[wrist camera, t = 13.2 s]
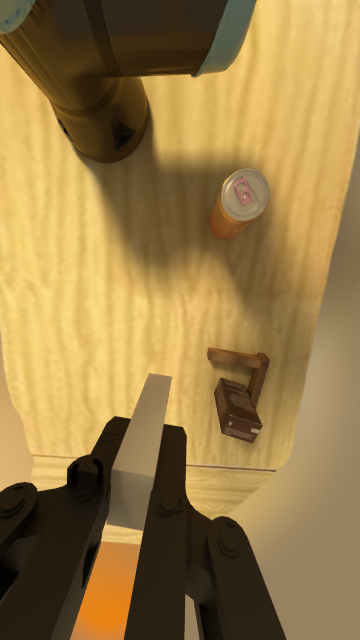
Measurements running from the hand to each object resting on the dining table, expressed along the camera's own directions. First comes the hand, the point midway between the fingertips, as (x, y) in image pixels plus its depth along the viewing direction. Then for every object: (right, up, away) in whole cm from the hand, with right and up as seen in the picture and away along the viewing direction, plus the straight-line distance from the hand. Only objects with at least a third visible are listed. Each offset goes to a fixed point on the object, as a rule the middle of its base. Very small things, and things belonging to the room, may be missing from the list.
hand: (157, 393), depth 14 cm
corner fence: (+12, -8, +33) cm, 36 cm away
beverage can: (+10, +23, +25) cm, 36 cm away
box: (+13, -11, +34) cm, 37 cm away
